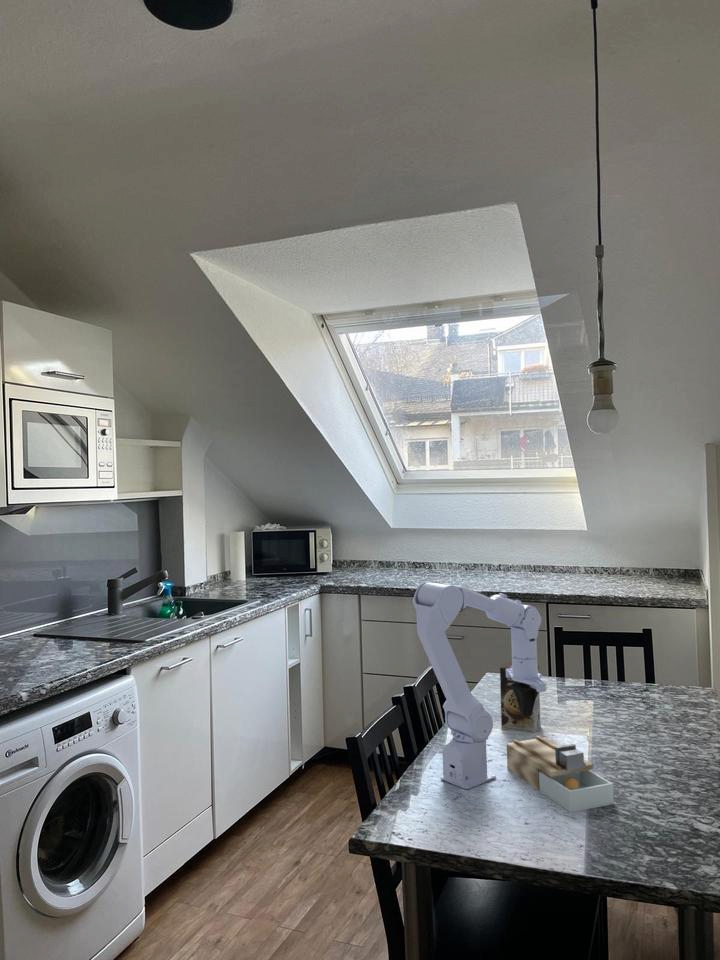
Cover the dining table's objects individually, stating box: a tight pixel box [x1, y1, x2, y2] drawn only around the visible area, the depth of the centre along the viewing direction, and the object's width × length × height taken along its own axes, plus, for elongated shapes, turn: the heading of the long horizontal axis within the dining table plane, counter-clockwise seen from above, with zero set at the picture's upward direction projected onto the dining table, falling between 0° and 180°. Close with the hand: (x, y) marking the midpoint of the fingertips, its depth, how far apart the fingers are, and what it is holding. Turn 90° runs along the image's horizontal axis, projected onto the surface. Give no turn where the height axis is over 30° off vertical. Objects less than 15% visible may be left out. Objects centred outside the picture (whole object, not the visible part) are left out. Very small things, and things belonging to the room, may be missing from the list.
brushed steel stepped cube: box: [555, 743, 585, 771], centre depth 153 cm, size 4×4×4 cm
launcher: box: [506, 735, 594, 791], centre depth 161 cm, size 18×10×6 cm, turn 18°
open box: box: [539, 770, 615, 813], centre depth 151 cm, size 11×10×4 cm
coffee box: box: [499, 662, 541, 734], centre depth 195 cm, size 9×6×16 cm
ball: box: [564, 777, 579, 790], centre depth 153 cm, size 3×3×3 cm
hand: (526, 715), depth 172 cm, fingers closed
